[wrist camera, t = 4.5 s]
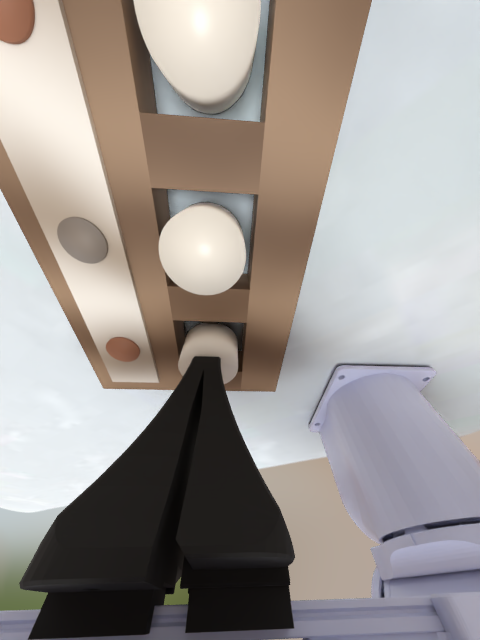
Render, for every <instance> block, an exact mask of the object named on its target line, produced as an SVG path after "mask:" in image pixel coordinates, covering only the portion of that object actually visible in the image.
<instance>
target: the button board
mask: <svg viewBox="0 0 480 640" xmlns="http://www.w3.org/2000/svg"><path fill="white" fill-rule="evenodd" d="M371 2H372V0H270V5H269V17H268V30H267V42H266V54H265V67H264V79H263V91H262V104H261V116H260V122H252V121H240V120H227V119H215V118H202V117H190V116H178V115H165V114H157V110H156V102H155V94H154V86H153V78H152V70H151V62H150V54H149V50H148V48H147V46H146V44H145V41H144V39H143V36H142V33H141V30H140V28H139V24H138V20H137V16H136V12H135V7H134V1H133V0H0V189H1V191H2V193H3V195H4V197H5V199H6V201H7V203H8V205H9V207H10V208H11V210H12V212H13V214H14V216H15V218H16V220H17V222H18V224H19V226H20V228H21V230H22V232H23V234H24V236H25V237H26V239H27V241H28V243H29V245H30V247H31V249H32V251H33V253H34V255H35V257H36V259H37V261H38V263H39V265H40V266H41V268H42V270H43V272H44V274H45V276H46V278H47V280H48V282H49V284H50V286H51V288H52V290H53V292H54V294H55V296H56V297H57V299H58V301H59V303H60V305H61V307H62V309H63V311H64V313H65V315H66V317H67V319H68V321H69V323H70V325H71V326H72V328H73V330H74V332H75V334H76V336H77V338H78V340H79V342H80V344H81V346H82V348H83V350H84V352H85V354H86V356H87V357H88V359H89V361H90V363H91V365H92V367H93V369H94V371H95V373H96V375H97V377H98V379H99V381H100V383H101V385H102V386H103V388H104V389H157V390H175V388H176V387H177V385H178V384H179V382H180V381H181V379H182V377H183V376H182V375H181V373H180V371H179V368H178V361H179V358H180V355H181V352H182V348H183V345H184V342H185V331H184V323H183V321H209V322H240V323H244V327H243V339H242V351H238V371H237V374H236V376H235V377H234V378H233V379H232V380H231V381H230V382H228V383H226V384H224V386H225V390H226V391H273V392H275V391H276V387H277V382H278V378H279V374H280V370H281V366H282V362H283V358H284V354H285V350H286V346H287V342H288V338H289V334H290V330H291V326H292V322H293V318H294V314H295V310H296V306H297V301H298V297H299V293H300V289H301V285H302V281H303V277H304V273H305V269H306V265H307V261H308V257H309V253H310V249H311V245H312V241H313V237H314V233H315V229H316V225H317V220H318V216H319V212H320V208H321V204H322V200H323V196H324V192H325V188H326V184H327V180H328V176H329V172H330V168H331V164H332V160H333V156H334V152H335V148H336V144H337V139H338V135H339V131H340V127H341V123H342V119H343V115H344V111H345V107H346V103H347V99H348V95H349V91H350V87H351V83H352V79H353V75H354V71H355V67H356V63H357V58H358V54H359V50H360V46H361V42H362V38H363V34H364V30H365V26H366V22H367V18H368V14H369V10H370V6H371ZM167 189H178V190H194V191H210V192H226V193H241V194H254V203H253V215H252V228H251V240H250V252H249V265H248V274H242V275H241V276H240V278H239V280H238V281H237V282H236V283H235V284H234V285H233V286H232V287H231V288H229V289H228V290H226V291H224V292H222V293H219V294H215V295H198V294H194V293H191V292H188V291H186V290H184V289H183V288H181V287H179V286H178V285H177V284H176V283H175V282H173V281H172V280H171V278H170V277H169V276H168V275H167V273H166V272H165V270H164V268H163V266H162V263H161V261H160V256H159V239H160V235H161V232H162V230H163V228H164V226H165V225H166V223H167V222H168V221H169V220H170V213H169V205H168V197H167Z"/></svg>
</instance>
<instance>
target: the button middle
mask: <svg viewBox="0 0 480 640" xmlns="http://www.w3.org/2000/svg"><path fill="white" fill-rule="evenodd" d="M159 256H160V261H161V263H162V266H163V268H164V270H165V272H166V273H167V275H168V276H169V277H170V278H171V280H172V281H173V282H175V283H176V284H177V285H178V286H179V287H181V288H183V289H184V290H186V291H188V292H191V293H194V294H198V295H215V294H219V293H222V292H224V291H226V290H228V289H229V288H231V287H232V286H233V285H234V284H235V283H236V282H237V281H238V280H239V278H240V276H241V275H242V273H243V270H244V267H245V262H246V249H245V242H244V235H243V231H242V228H241V226H240V224H239V222H238V220H237V219H236V218H235V216H234V215H233V214H232V213H231V212H230V211H229V210H227V209H226V208H224V207H223V206H220V205H218V204H215V203H210V202H200V203H196V204H193V205H191V206H189V207H187V208H185V209H184V210H182V211H181V212H179V213H178V214H176V215H175V216H173V217H172V218H171V219H170V220H169V221H168V222H167V223H166V225H165V226H164V228H163V230H162V232H161V235H160V239H159Z"/></svg>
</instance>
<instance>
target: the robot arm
mask: <svg viewBox="0 0 480 640" xmlns="http://www.w3.org/2000/svg"><path fill="white" fill-rule="evenodd" d="M435 375H436V371H435V370H434V369H433V368H430V367H393V366H351V365H342V366H339V367H337V368H336V370H335V372H334V374H333V376H332V378H331V380H330V382H329V384H328V387H327V389H326V391H325V393H324V395H323V397H322V399H321V401H320V404H319V406H318V408H317V410H316V412H315V414H314V416H313V418H312V421H311V423H310V425H309V430H310V431H312V432H319V433H320V436H321V439H322V442H323V445H324V448H325V451H326V454H327V457H328V460H329V463H330V466H331V469H332V472H333V475H334V478H335V481H336V484H337V487H338V490H339V494H340V497H341V499H342V502H343V504H344V506H345V508H346V510H347V512H348V514H349V515H350V517H351V518H352V520H353V521H354V522H355V524H356V525H357V526H358V527H359V528H360V529H361V530H362V532H363V533H364V534H366V535H367V536H368V537H369V538H370V539H372V540H373V541H375V542H376V543H378V544H380V545H379V546H376V547H372V548H371V552H372V555H373V557H374V560H375V562H376V565H377V566H376V569H375V571H374V573H373V578H372V589H371V592H372V593H371V594H372V598H357V599H330V600H300V601H291V600H290V592H289V585H290V578H289V570H288V566H289V565H290V564H291V563H292V562H293V560H294V558H295V555H294V550H293V545H292V542H291V538H290V535H289V532H288V529H287V526H286V524H285V521H284V518H283V516H282V513H281V511H280V508H279V506H278V505H277V503H276V501H275V499H274V498H273V496H272V494H271V493H270V491H269V489H268V487H267V486H266V484H265V482H264V480H263V478H262V476H261V474H260V472H259V471H258V469H257V467H256V465H255V463H254V461H253V459H252V457H251V454H250V452H249V450H248V448H247V446H246V444H245V442H244V440H243V437H242V435H241V433H240V431H239V428H238V426H237V423H236V421H235V418H234V415H233V413H232V410H231V407H230V404H229V401H228V397H227V394H226V390H225V386H224V382H223V378H222V372H221V358H220V357H209V356H195V357H193V359H192V361H191V363H190V365H189V367H188V369H187V371H186V372H185V374H184V376H183V377H182V379H181V381H180V382H179V384H178V385H177V387H176V388H175V390H174V392H173V393H172V394H171V396H170V397H169V399H168V400H167V401H166V403H165V404H164V406H163V407H162V408H161V410H160V411H159V412H158V414H157V415H156V416H155V417H154V419H153V420H152V421H151V422H150V424H149V425H148V426H147V427H146V428H145V430H144V431H143V432H142V433H141V434H140V435H139V436H138V438H137V439H136V440H135V441H134V442H133V443H132V444H131V445H130V446H129V448H128V449H127V450H126V451H125V452H124V453H123V454H122V455H121V456H120V457H119V458H118V459H117V460H116V461H115V462H114V463H113V464H112V465H111V466H110V467H109V468H108V469H107V470H106V471H105V472H104V473H103V474H102V475H101V476H100V477H99V478H98V479H97V480H96V481H95V482H94V483H93V484H92V485H90V486H89V487H88V488H87V489H86V490H85V491H84V492H83V493H82V494H81V495H79V496H78V497H77V498H76V499H75V500H74V501H73V502H72V503H71V504H70V505H69V506H67V507H66V508H65V509H64V510H63V511H62V512H61V513H60V514H59V515H58V516H57V518H56V519H55V521H54V522H53V524H52V526H51V527H50V529H49V531H48V532H47V534H46V535H45V537H44V539H43V540H42V542H41V544H40V546H39V547H38V550H37V551H36V553H35V555H34V557H33V559H32V561H31V563H30V564H29V566H28V568H27V570H26V572H25V574H24V576H23V578H22V580H21V581H20V588H21V589H24V590H32V591H39V592H48V595H47V597H46V599H45V602H44V604H43V606H42V608H41V610H16V611H0V640H264V639H265V640H266V639H285V638H286V639H288V638H303V640H480V461H479V460H478V459H477V458H476V457H475V456H474V454H473V453H472V452H471V451H470V450H469V449H468V448H467V446H466V445H465V444H464V443H463V442H462V440H461V439H460V438H459V437H458V436H457V435H456V433H455V432H454V431H453V430H452V429H451V428H450V426H449V425H448V424H447V423H446V422H445V421H444V419H443V418H442V417H441V416H440V415H439V414H438V413H437V411H436V410H435V409H434V408H433V407H432V406H431V404H430V403H429V402H428V401H427V400H426V399H425V397H424V396H423V395H422V394H421V393H420V392H421V390H422V389H423V388H424V387H425V386H426V385H427V384H428V383H429V382H430V380H431V379H432V378H433V377H434V376H435ZM180 577H181V584H180V588H181V589H183V588H188V593H189V602H188V605H187V604H186V605H164V599H165V594H173V593H174V589H175V584H176V582H177V581H178V580H179V579H180Z"/></svg>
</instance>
